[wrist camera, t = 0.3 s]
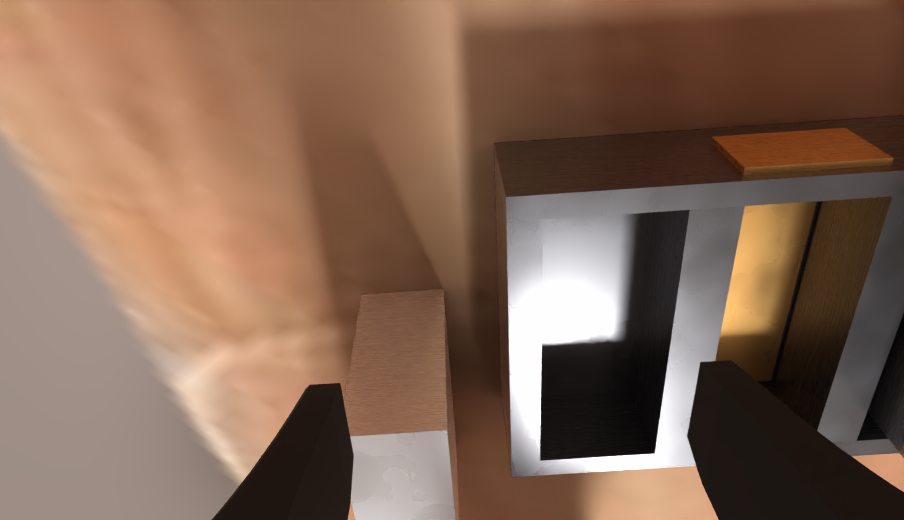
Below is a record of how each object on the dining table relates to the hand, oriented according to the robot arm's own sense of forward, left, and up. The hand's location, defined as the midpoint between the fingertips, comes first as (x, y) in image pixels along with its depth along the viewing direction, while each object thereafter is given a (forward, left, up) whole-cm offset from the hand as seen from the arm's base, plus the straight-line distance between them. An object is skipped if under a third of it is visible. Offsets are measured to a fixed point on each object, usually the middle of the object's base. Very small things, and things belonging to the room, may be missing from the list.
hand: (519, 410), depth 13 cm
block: (-8, +3, -10) cm, 13 cm away
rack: (-4, -9, -10) cm, 14 cm away
